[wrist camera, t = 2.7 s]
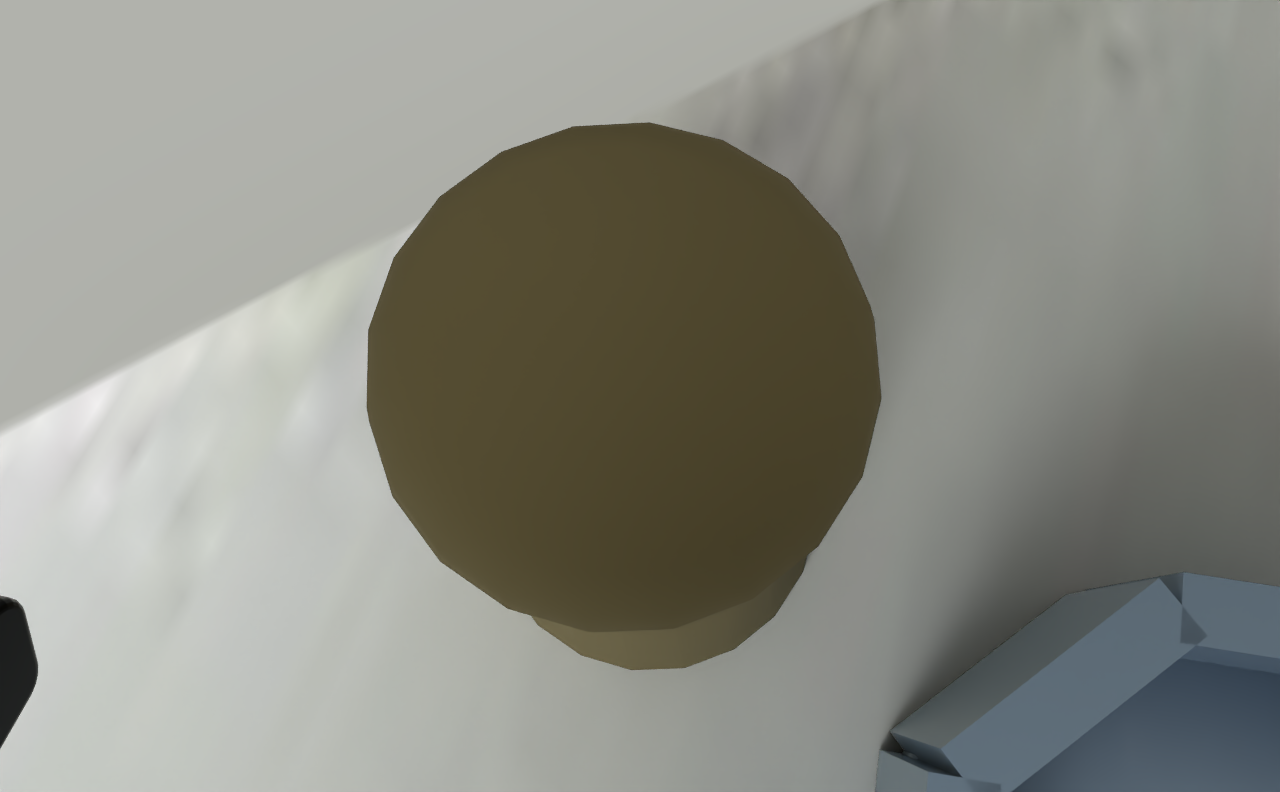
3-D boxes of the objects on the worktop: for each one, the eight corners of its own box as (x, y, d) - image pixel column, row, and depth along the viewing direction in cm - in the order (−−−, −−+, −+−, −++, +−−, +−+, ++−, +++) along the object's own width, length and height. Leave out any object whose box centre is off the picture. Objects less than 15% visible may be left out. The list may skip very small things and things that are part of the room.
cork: (711, 290, 21) (736, -83, 11) (878, 565, 20) (1099, 455, 9) (433, 442, 21) (166, 211, 10) (585, 735, 19) (462, 823, 9)
